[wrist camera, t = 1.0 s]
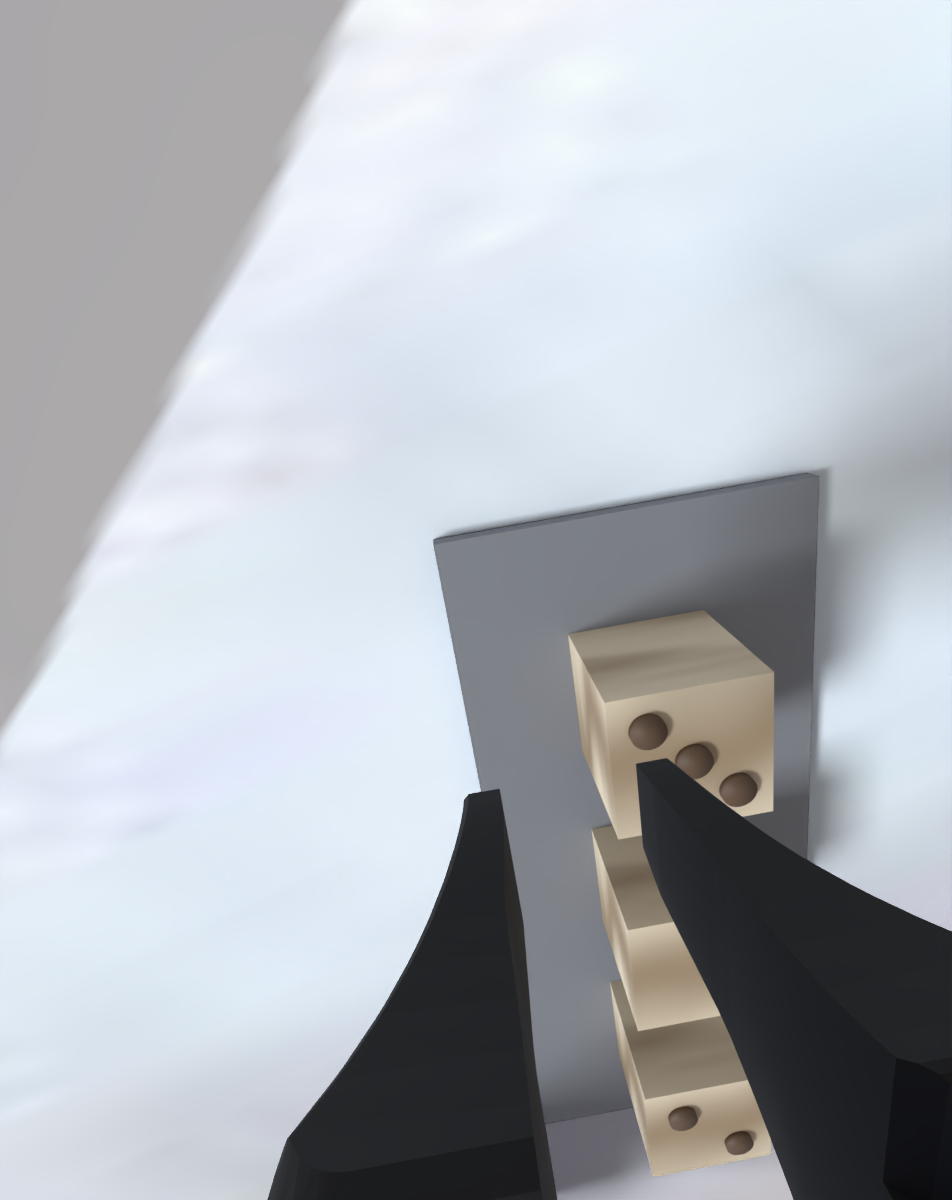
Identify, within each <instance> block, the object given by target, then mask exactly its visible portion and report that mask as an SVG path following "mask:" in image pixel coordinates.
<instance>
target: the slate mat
mask: <svg viewBox="0 0 952 1200" xmlns="http://www.w3.org/2000/svg"><path fill="white" fill-rule="evenodd" d="M818 493H819V476H816V475H813V474H809V473H806V474H801V475H795V476H789V477H784V478H778V479H772V480H767V481H761V482H755V483H750V484H744V485H739V486H733V487H727V488H722V489H716V490H710V491H705V492H699V493H693V494H688V495H682V496H677V497H671V498H665V499H660V500H654V501H648V502H643V503H637V504H631V505H626V506H620V507H615V508H609V509H603V510H598V511H592V512H586V513H581V514H575V515H569V516H564V517H558V518H553V519H547V520H541V521H536V522H530V523H524V524H519V525H513V526H507V527H502V528H496V529H491V530H485V531H479V532H474V533H468V534H462V535H457V536H451V537H445V538H440V539H434V540H433V543H434V550H435V555H436V560H437V565H438V570H439V575H440V581H441V586H442V591H443V596H444V601H445V607H446V612H447V617H448V622H449V627H450V632H451V638H452V643H453V648H454V653H455V658H456V664H457V669H458V674H459V679H460V684H461V689H462V695H463V700H464V705H465V710H466V715H467V721H468V726H469V731H470V736H471V741H472V746H473V752H474V757H475V762H476V767H477V772H478V777H479V783H480V788H481V792H484V791H489V790H494V789H500V793H501V799H502V804H503V810H504V816H505V821H506V827H507V832H508V838H509V843H510V849H511V854H512V860H513V866H514V871H515V877H516V882H517V888H518V894H519V899H520V905H521V911H522V917H523V922H524V934H525V946H526V959H527V971H528V983H529V996H530V1008H531V1021H532V1033H533V1045H534V1054H535V1062H536V1071H537V1078H538V1084H539V1090H540V1097H541V1103H542V1109H543V1114H544V1119H545V1124H549V1123H554V1122H559V1121H565V1120H570V1119H575V1118H581V1117H586V1116H591V1115H596V1114H602V1113H607V1112H612V1111H617V1110H623V1109H628V1108H633V1104H632V1100H631V1096H630V1093H629V1089H628V1086H627V1082H626V1079H625V1075H624V1071H623V1068H622V1064H621V1061H620V1057H619V1052H618V1044H617V1036H616V1027H615V1019H614V1011H613V1002H612V994H611V986H610V982H614V981H619V980H622V979H621V976H620V973H619V970H618V966H617V963H616V960H615V957H614V954H613V951H612V948H611V945H610V941H609V938H608V935H607V932H606V929H605V926H604V923H603V919H602V911H601V903H600V895H599V886H598V878H597V870H596V862H595V853H594V845H593V837H592V829H595V828H600V827H606V826H611V825H612V822H611V820H610V817H609V815H608V813H607V810H606V808H605V805H604V803H603V800H602V798H601V795H600V793H599V790H598V788H597V785H596V783H595V781H594V778H593V776H592V773H591V771H590V768H589V766H588V763H587V761H586V758H585V756H584V754H583V751H582V745H581V737H580V729H579V721H578V712H577V704H576V696H575V687H574V679H573V671H572V663H571V654H570V646H569V638H568V634H572V633H577V632H583V631H589V630H594V629H600V628H605V627H611V626H616V625H622V624H627V623H633V622H639V621H644V620H650V619H655V618H661V617H666V616H672V615H678V614H683V613H689V612H694V611H700V610H704V611H705V612H706V613H707V614H709V615H710V616H711V617H712V618H713V619H714V620H715V621H717V622H718V623H719V624H720V625H721V626H722V627H723V628H725V629H726V630H727V631H728V632H729V633H730V634H731V635H733V636H734V637H735V638H736V639H737V640H738V641H739V642H741V643H742V644H743V645H744V646H745V647H746V648H747V649H748V650H750V651H751V652H752V653H753V654H754V655H755V656H756V657H758V658H759V659H760V660H761V661H762V662H763V663H764V664H766V665H767V666H768V667H769V668H770V669H771V670H772V671H774V773H773V811H771V812H765V813H760V814H755V815H749V816H744V818H745V819H746V820H748V821H749V822H750V823H752V824H753V825H754V826H756V827H757V828H759V829H760V830H762V831H763V832H765V833H766V834H767V835H769V836H770V837H772V838H773V839H775V840H776V841H778V842H779V843H781V844H783V845H784V846H786V847H787V848H789V849H790V850H792V851H793V852H795V853H797V854H798V855H800V856H801V857H803V858H805V859H806V860H807V845H808V813H809V781H810V749H811V717H812V685H813V653H814V621H815V589H816V557H817V525H818Z"/></svg>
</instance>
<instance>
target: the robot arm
mask: <svg viewBox="0 0 952 1200" xmlns="http://www.w3.org/2000/svg"><path fill="white" fill-rule="evenodd" d="M636 772H637V784H638V795H639V807H640V819H641V830H642V842H643V849H644V851H645V854H646V857H647V860H648V862H649V865H650V868H651V871H652V874H653V876H654V879H655V882H656V884H657V887H658V890H659V892H660V895H661V897H662V899H663V901H664V903H665V905H666V907H667V909H668V911H669V913H670V916H671V918H672V920H673V922H674V924H675V926H676V928H677V930H678V932H679V934H680V936H681V938H682V940H683V941H684V943H685V945H686V947H687V949H688V951H689V953H690V955H691V957H692V959H693V961H694V963H695V965H696V967H697V969H698V971H699V973H700V975H701V977H702V979H703V981H704V983H705V985H706V987H707V989H708V991H709V993H710V995H711V997H712V999H713V1001H714V1003H715V1005H716V1007H717V1009H718V1011H719V1013H720V1015H721V1017H722V1020H723V1022H724V1024H725V1026H726V1028H727V1030H728V1033H729V1035H730V1037H731V1039H732V1042H733V1044H734V1047H735V1049H736V1052H737V1054H738V1057H739V1059H740V1062H741V1064H742V1067H743V1069H744V1072H745V1074H746V1077H747V1079H748V1082H749V1084H750V1087H751V1089H752V1092H753V1094H754V1097H755V1099H756V1102H757V1105H758V1107H759V1110H760V1112H761V1115H762V1118H763V1120H764V1123H765V1125H766V1128H767V1131H768V1133H769V1136H770V1138H771V1141H772V1144H773V1146H774V1149H775V1151H776V1154H777V1156H778V1159H779V1162H780V1164H781V1167H782V1170H783V1172H784V1175H785V1178H786V1180H787V1183H788V1186H789V1188H790V1191H791V1194H792V1196H793V1199H794V1200H952V931H949V930H947V929H944V928H942V927H940V926H937V925H935V924H933V923H930V922H928V921H926V920H923V919H921V918H919V917H917V916H914V915H912V914H910V913H908V912H906V911H904V910H902V909H900V908H898V907H895V906H893V905H891V904H889V903H887V902H885V901H883V900H881V899H878V898H876V897H874V896H872V895H870V894H868V893H866V892H864V891H862V890H860V889H859V888H857V887H855V886H853V885H851V884H849V883H847V882H845V881H844V880H842V879H840V878H838V877H836V876H835V875H833V874H831V873H829V872H827V871H826V870H824V869H822V868H820V867H818V866H817V865H815V864H813V863H811V862H810V861H808V860H806V859H805V858H803V857H801V856H800V855H798V854H797V853H795V852H793V851H792V850H790V849H789V848H787V847H786V846H784V845H783V844H781V843H779V842H778V841H776V840H775V839H773V838H772V837H770V836H769V835H767V834H766V833H765V832H763V831H762V830H760V829H759V828H757V827H756V826H754V825H753V824H752V823H750V822H749V821H748V820H746V819H745V818H744V817H742V816H741V815H739V814H738V813H737V812H735V811H734V810H733V809H731V808H730V807H728V806H727V805H726V804H725V803H723V802H722V801H721V800H719V799H718V798H717V797H715V796H714V795H713V794H712V793H710V792H709V791H708V790H706V789H705V788H704V787H703V786H701V785H700V784H699V783H698V782H696V781H695V780H694V779H693V778H691V777H690V776H689V775H688V774H686V773H685V772H684V771H683V770H682V769H680V768H679V767H678V766H677V765H675V764H674V763H673V762H671V761H670V760H669V759H667V758H664V759H659V760H653V761H648V762H642V763H637V764H636ZM268 1200H557V1196H556V1190H555V1183H554V1177H553V1171H552V1165H551V1159H550V1152H549V1146H548V1140H547V1134H546V1128H545V1121H544V1115H543V1109H542V1103H541V1097H540V1090H539V1084H538V1078H537V1071H536V1062H535V1054H534V1045H533V1033H532V1021H531V1008H530V996H529V983H528V971H527V959H526V946H525V934H524V922H523V917H522V911H521V905H520V899H519V894H518V888H517V882H516V877H515V871H514V866H513V860H512V854H511V849H510V843H509V838H508V832H507V827H506V821H505V816H504V810H503V804H502V799H501V793H500V789H494V790H489V791H484V792H478V793H473V794H469V795H468V796H467V797H466V798H465V799H464V806H463V813H462V819H461V824H460V829H459V833H458V837H457V840H456V844H455V848H454V851H453V854H452V857H451V861H450V864H449V867H448V870H447V873H446V876H445V879H444V882H443V885H442V887H441V890H440V892H439V895H438V897H437V900H436V902H435V905H434V908H433V910H432V913H431V915H430V918H429V920H428V922H427V924H426V927H425V929H424V931H423V933H422V935H421V938H420V940H419V942H418V944H417V946H416V948H415V950H414V952H413V954H412V956H411V958H410V960H409V962H408V964H407V966H406V968H405V969H404V971H403V973H402V975H401V977H400V978H399V980H398V982H397V984H396V986H395V987H394V989H393V991H392V993H391V994H390V996H389V998H388V1000H387V1001H386V1003H385V1005H384V1006H383V1008H382V1010H381V1011H380V1013H379V1015H378V1016H377V1018H376V1019H375V1021H374V1022H373V1024H372V1025H371V1027H370V1028H369V1030H368V1031H367V1033H366V1034H365V1036H364V1037H363V1039H362V1040H361V1042H360V1043H359V1045H358V1046H357V1048H356V1049H355V1050H354V1052H353V1053H352V1055H351V1056H350V1058H349V1059H348V1061H347V1062H346V1064H345V1065H344V1067H343V1068H342V1069H341V1071H340V1072H339V1074H338V1075H337V1076H336V1078H335V1079H334V1080H333V1082H332V1083H331V1084H330V1086H329V1087H328V1088H327V1089H326V1091H325V1092H324V1093H323V1094H322V1096H321V1097H320V1098H319V1099H318V1101H317V1102H316V1103H315V1105H314V1106H313V1107H312V1108H311V1110H310V1111H309V1112H308V1113H307V1115H306V1116H305V1117H304V1118H303V1120H302V1121H301V1122H300V1124H299V1125H298V1126H297V1127H296V1129H295V1130H294V1131H293V1132H292V1133H291V1135H290V1136H289V1137H288V1138H287V1141H286V1144H285V1146H284V1149H283V1152H282V1155H281V1158H280V1161H279V1164H278V1167H277V1170H276V1173H275V1176H274V1179H273V1183H272V1186H271V1190H270V1193H269V1197H268Z"/></svg>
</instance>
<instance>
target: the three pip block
mask: <svg viewBox="0 0 952 1200" xmlns="http://www.w3.org/2000/svg"><path fill="white" fill-rule="evenodd" d="M568 638H569V646H570V654H571V663H572V671H573V679H574V687H575V696H576V704H577V712H578V721H579V729H580V737H581V745H582V751H583V754H584V756H585V758H586V761H587V763H588V766H589V768H590V771H591V773H592V776H593V778H594V781H595V783H596V785H597V788H598V790H599V793H600V795H601V798H602V800H603V803H604V805H605V808H606V810H607V813H608V815H609V817H610V820H611V822H612V825H613V827H614V830H615V832H616V835H617V837H618V840H619V839H624V838H630V837H635V836H641V835H642V830H641V819H640V807H639V795H638V784H637V772H636V764H637V763H642V762H648V761H653V760H659V759H664V758H667V759H669V760H670V761H671V762H673V763H674V764H675V765H677V766H678V767H679V768H680V769H682V770H683V771H684V772H685V773H686V774H688V775H689V776H690V777H691V778H693V779H694V780H695V781H696V782H698V783H699V784H700V785H701V786H703V787H704V788H705V789H706V790H708V791H709V792H710V793H712V794H713V795H714V796H715V797H717V798H718V799H719V800H721V801H722V802H723V803H725V804H726V805H727V806H728V807H730V808H731V809H733V810H734V811H735V812H737V813H738V814H739V815H741V816H742V817H744V816H749V815H755V814H760V813H765V812H771V811H773V773H774V671H772V670H771V669H770V668H769V667H768V666H767V665H766V664H764V663H763V662H762V661H761V660H760V659H759V658H758V657H756V656H755V655H754V654H753V653H752V652H751V651H750V650H748V649H747V648H746V647H745V646H744V645H743V644H742V643H741V642H739V641H738V640H737V639H736V638H735V637H734V636H733V635H731V634H730V633H729V632H728V631H727V630H726V629H725V628H723V627H722V626H721V625H720V624H719V623H718V622H717V621H715V620H714V619H713V618H712V617H711V616H710V615H709V614H707V613H706V612H705V611H704V610H700V611H694V612H689V613H683V614H678V615H672V616H666V617H661V618H655V619H650V620H644V621H639V622H633V623H627V624H622V625H616V626H611V627H605V628H600V629H594V630H589V631H583V632H577V633H572V634H568Z"/></svg>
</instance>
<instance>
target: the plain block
mask: <svg viewBox="0 0 952 1200" xmlns="http://www.w3.org/2000/svg"><path fill="white" fill-rule="evenodd" d="M592 837H593V845H594V853H595V862H596V870H597V878H598V886H599V895H600V903H601V911H602V919H603V923H604V926H605V929H606V932H607V935H608V938H609V941H610V945H611V948H612V951H613V954H614V957H615V960H616V963H617V966H618V970H619V973H620V976H621V979H622V982H623V985H624V988H625V992H626V995H627V998H628V1001H629V1004H630V1007H631V1010H632V1013H633V1017H634V1020H635V1023H636V1026H637V1029H638V1031H642V1030H647V1029H652V1028H658V1027H663V1026H668V1025H674V1024H679V1023H684V1022H690V1021H695V1020H700V1019H706V1018H711V1017H716V1016H721V1015H720V1013H719V1011H718V1009H717V1007H716V1005H715V1003H714V1001H713V999H712V997H711V995H710V993H709V991H708V989H707V987H706V985H705V983H704V981H703V979H702V977H701V975H700V973H699V971H698V969H697V967H696V965H695V963H694V961H693V959H692V957H691V955H690V953H689V951H688V949H687V947H686V945H685V943H684V941H683V940H682V938H681V936H680V934H679V932H678V930H677V928H676V926H675V924H674V922H673V920H672V918H671V916H670V913H669V911H668V909H667V907H666V905H665V903H664V901H663V899H662V897H661V895H660V892H659V890H658V887H657V884H656V882H655V879H654V876H653V874H652V871H651V868H650V865H649V862H648V860H647V857H646V854H645V851H644V849H643V842H642V835H641V836H635V837H630V838H624V839H619V840H618V837H617V835H616V832H615V830H614V827H613V825H611V826H606V827H600V828H595V829H592Z"/></svg>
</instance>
